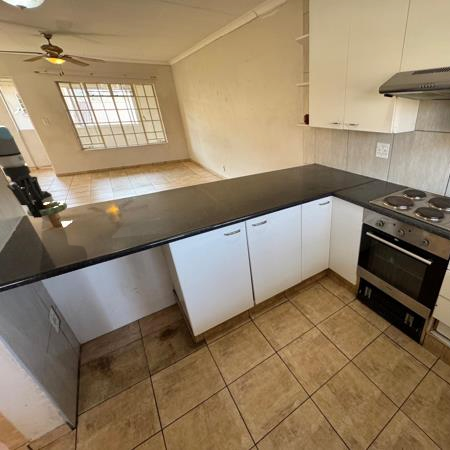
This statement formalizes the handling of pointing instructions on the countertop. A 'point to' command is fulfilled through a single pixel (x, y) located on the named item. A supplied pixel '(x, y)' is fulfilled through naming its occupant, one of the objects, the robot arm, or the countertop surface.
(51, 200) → the coffee cup
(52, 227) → the stand
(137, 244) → the countertop surface
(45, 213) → the hang ring
